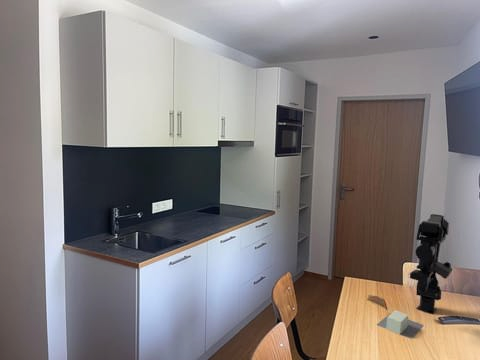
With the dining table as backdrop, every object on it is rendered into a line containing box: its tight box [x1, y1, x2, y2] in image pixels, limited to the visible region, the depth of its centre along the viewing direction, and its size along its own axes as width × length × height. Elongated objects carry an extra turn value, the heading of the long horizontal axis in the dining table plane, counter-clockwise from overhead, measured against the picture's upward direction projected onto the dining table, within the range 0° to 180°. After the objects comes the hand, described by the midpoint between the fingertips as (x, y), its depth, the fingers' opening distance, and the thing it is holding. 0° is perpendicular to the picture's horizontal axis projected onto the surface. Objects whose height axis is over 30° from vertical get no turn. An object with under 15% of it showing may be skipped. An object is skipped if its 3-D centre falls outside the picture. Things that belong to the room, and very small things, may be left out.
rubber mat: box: [376, 312, 425, 340], centre depth 136 cm, size 14×13×1 cm
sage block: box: [386, 309, 409, 335], centre depth 134 cm, size 5×5×8 cm
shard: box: [365, 294, 387, 310], centre depth 155 cm, size 11×8×2 cm
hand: (424, 292), depth 137 cm, fingers closed
